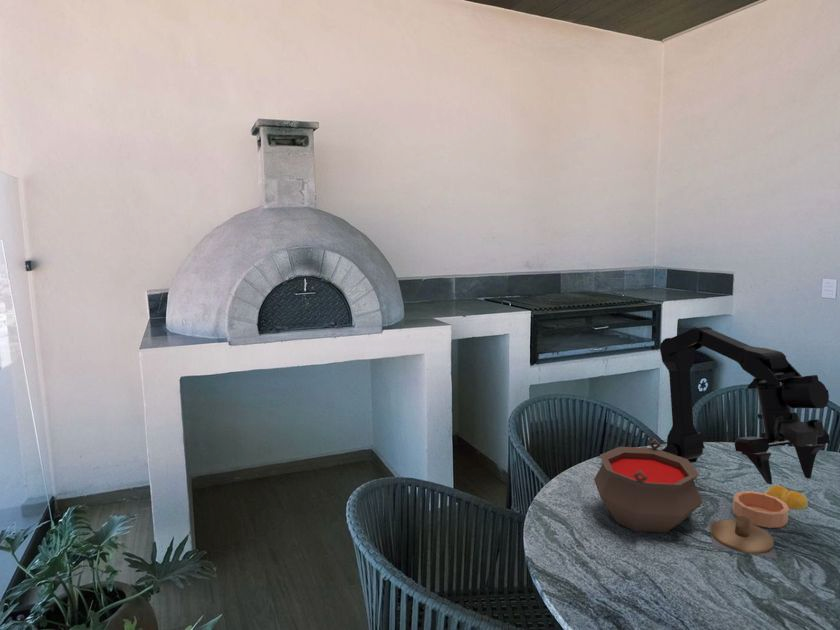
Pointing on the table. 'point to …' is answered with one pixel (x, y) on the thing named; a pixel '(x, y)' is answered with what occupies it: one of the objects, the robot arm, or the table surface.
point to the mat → (717, 544)
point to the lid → (742, 535)
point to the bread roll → (788, 497)
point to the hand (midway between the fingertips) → (788, 481)
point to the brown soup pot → (647, 487)
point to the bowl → (761, 509)
